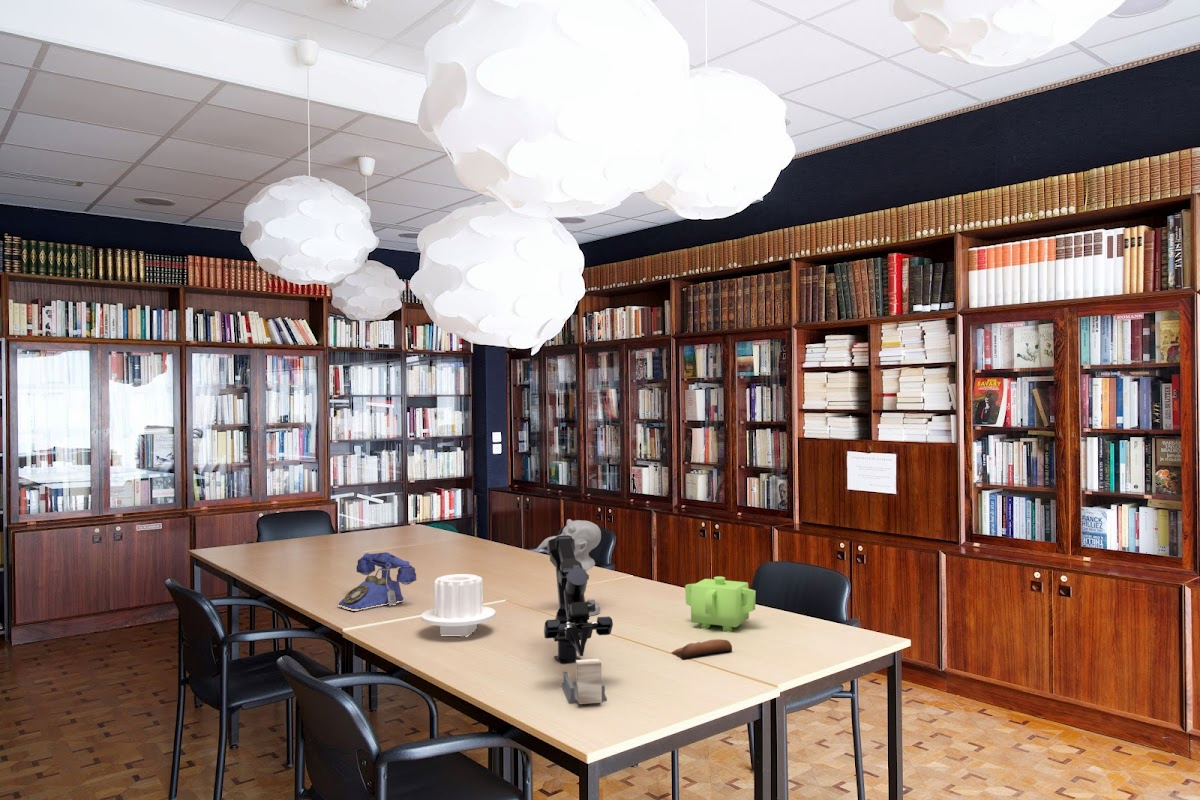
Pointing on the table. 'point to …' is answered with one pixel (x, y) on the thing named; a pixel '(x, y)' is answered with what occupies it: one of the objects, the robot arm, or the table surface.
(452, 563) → the table surface
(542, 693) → the table surface
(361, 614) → the table surface
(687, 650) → the brown elongated lump
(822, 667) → the table surface
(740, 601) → the storage box
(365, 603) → the rotary telephone
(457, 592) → the flanged gear
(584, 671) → the cream block
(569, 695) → the gray chute
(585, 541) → the bust sculpture
